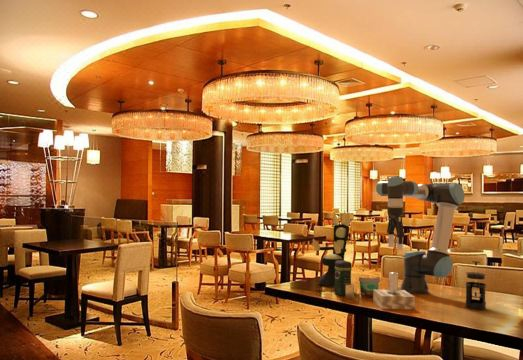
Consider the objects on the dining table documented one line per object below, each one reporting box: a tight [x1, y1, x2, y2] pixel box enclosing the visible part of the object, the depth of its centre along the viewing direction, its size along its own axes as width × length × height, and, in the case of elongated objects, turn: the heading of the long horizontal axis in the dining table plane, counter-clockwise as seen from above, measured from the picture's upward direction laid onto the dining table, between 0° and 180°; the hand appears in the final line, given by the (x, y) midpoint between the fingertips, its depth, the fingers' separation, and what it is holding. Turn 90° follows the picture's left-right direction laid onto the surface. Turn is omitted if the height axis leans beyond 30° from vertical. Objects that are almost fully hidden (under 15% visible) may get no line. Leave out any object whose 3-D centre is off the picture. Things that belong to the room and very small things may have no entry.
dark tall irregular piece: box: [311, 210, 352, 288], centre depth 279 cm, size 19×22×45 cm
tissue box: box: [372, 289, 416, 310], centre depth 227 cm, size 16×16×6 cm
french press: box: [465, 260, 487, 311], centre depth 226 cm, size 12×9×23 cm
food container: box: [358, 276, 381, 298], centre depth 247 cm, size 12×6×10 cm, turn 105°
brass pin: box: [344, 283, 355, 300], centre depth 241 cm, size 4×4×7 cm
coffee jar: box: [333, 259, 353, 297], centre depth 251 cm, size 10×8×19 cm
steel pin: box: [388, 271, 399, 294], centre depth 228 cm, size 4×4×16 cm
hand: (395, 248), depth 232 cm, fingers open, 13 cm apart
